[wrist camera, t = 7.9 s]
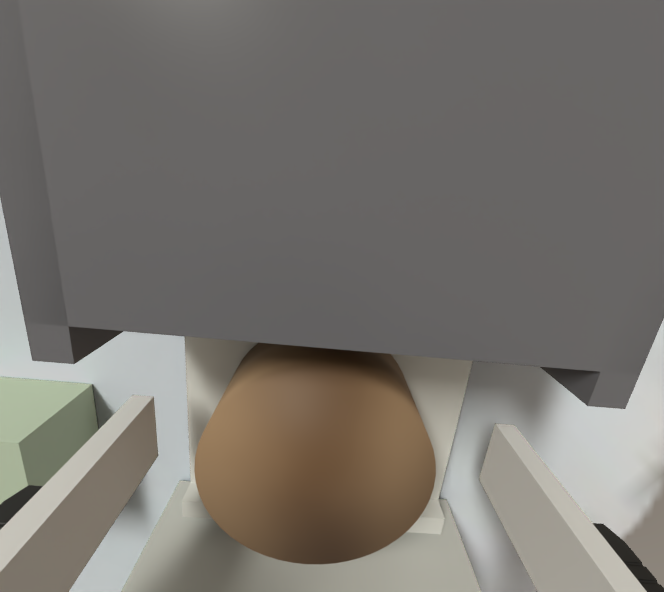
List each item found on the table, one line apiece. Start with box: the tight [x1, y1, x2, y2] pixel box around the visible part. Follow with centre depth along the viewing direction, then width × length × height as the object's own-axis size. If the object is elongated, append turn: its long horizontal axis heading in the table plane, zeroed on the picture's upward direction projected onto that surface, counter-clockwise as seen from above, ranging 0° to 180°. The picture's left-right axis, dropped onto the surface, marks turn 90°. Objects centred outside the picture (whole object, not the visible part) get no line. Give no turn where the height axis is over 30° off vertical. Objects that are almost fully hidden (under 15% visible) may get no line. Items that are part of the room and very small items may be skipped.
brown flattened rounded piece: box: [194, 343, 436, 564], centre depth 13 cm, size 8×8×4 cm
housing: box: [0, 0, 664, 409], centre depth 9 cm, size 16×15×7 cm
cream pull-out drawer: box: [121, 336, 481, 592], centre depth 13 cm, size 16×15×6 cm
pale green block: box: [0, 377, 98, 504], centre depth 15 cm, size 5×5×4 cm
